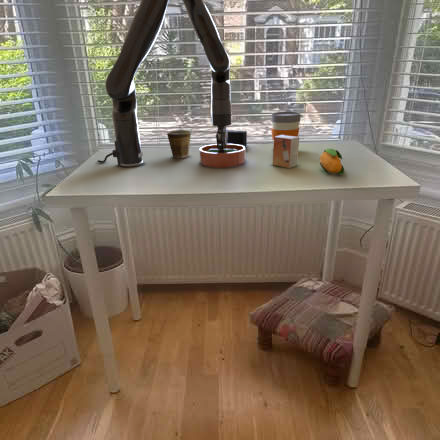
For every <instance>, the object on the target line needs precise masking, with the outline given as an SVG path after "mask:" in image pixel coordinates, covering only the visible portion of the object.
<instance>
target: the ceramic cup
mask: <svg viewBox="0 0 440 440" xmlns="http://www.w3.org/2000/svg"><path fill="white" fill-rule="evenodd" d="M166 134H167V139H168V144H169V147H170V151H171V154H172V158H175V159H186V158H188V157H189V155H190V145H191V138H192V132H191V130H187V129H176V130H170V131H167V133H166Z"/></svg>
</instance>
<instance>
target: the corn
mask: <svg viewBox="0 0 440 440" xmlns="http://www.w3.org/2000/svg"><path fill="white" fill-rule="evenodd" d="M342 160H343V156H342V154H341V153H340V151H338V150H337V149H334V148H326V149H324V150H323V152H322V153H321V155H320V158H319V165H320V166H321V169H322V170H324V172H325V173H327V174H330V173H331V174H338V175H339V176H340V175H344V173H345V167H344V165H343V163H342V162H341V161H342Z"/></svg>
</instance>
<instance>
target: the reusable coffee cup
mask: <svg viewBox="0 0 440 440" xmlns="http://www.w3.org/2000/svg"><path fill="white" fill-rule="evenodd" d="M270 117H271V118H270V122H271V128H270V129H271V139H272V141H273V142H272V143H273V144H274V137H275V136H279V135H286V136H295V137H299V133H300V122H301V119H302V118H301V113H300V112H297V111H296V112H295V111H277V112H272V113H271V116H270Z"/></svg>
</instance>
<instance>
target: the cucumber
mask: <svg viewBox="0 0 440 440" xmlns="http://www.w3.org/2000/svg"><path fill="white" fill-rule="evenodd" d="M224 151H225V153H229V152H236V151H238V150H236V149H225V150H224ZM207 152H210V153H219V150H218V149H209V150H208V151H207Z"/></svg>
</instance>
